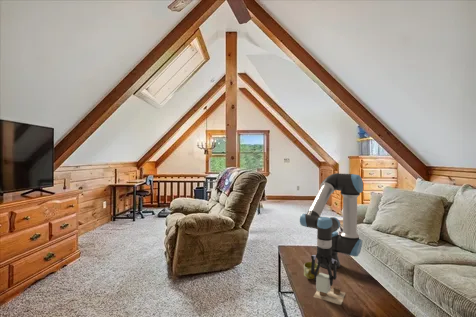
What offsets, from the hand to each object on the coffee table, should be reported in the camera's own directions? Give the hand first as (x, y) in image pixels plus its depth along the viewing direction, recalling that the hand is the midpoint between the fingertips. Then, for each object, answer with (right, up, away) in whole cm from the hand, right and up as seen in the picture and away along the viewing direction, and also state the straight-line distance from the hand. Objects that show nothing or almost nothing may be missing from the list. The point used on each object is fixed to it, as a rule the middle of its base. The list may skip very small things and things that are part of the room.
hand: (323, 289), depth 140 cm
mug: (-1, -4, +21) cm, 21 cm away
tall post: (0, -3, 0) cm, 3 cm away
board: (+4, -4, 0) cm, 6 cm away
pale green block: (0, 0, 0) cm, 0 cm away
